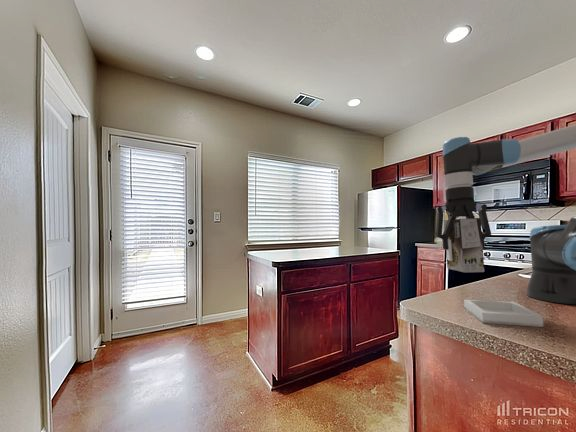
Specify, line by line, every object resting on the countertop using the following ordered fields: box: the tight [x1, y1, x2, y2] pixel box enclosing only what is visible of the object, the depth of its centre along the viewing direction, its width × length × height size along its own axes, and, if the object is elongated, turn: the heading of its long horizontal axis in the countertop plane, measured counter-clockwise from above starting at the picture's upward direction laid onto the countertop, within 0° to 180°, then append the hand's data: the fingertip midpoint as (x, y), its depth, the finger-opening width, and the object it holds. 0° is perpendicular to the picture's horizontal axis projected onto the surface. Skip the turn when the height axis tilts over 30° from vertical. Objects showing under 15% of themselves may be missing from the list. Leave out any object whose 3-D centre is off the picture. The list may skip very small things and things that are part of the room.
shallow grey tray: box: [463, 299, 544, 328], centre depth 69 cm, size 12×12×2 cm
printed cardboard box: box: [443, 217, 485, 273], centre depth 83 cm, size 9×6×16 cm
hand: (464, 259), depth 83 cm, fingers closed on printed cardboard box, 7 cm apart
